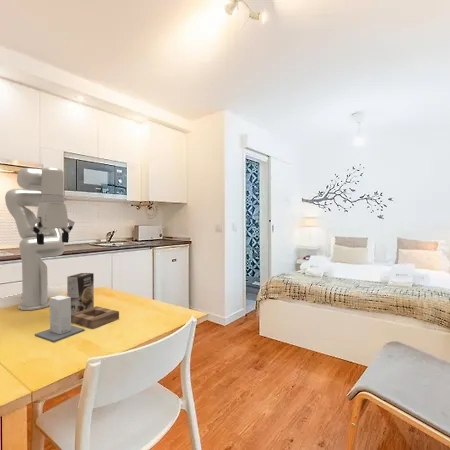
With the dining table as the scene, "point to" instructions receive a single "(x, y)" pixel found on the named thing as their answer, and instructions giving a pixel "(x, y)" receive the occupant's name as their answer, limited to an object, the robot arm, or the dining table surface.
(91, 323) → the pocket block
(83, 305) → the coffee box
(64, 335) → the coaster
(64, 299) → the skincare box
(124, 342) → the dining table surface
